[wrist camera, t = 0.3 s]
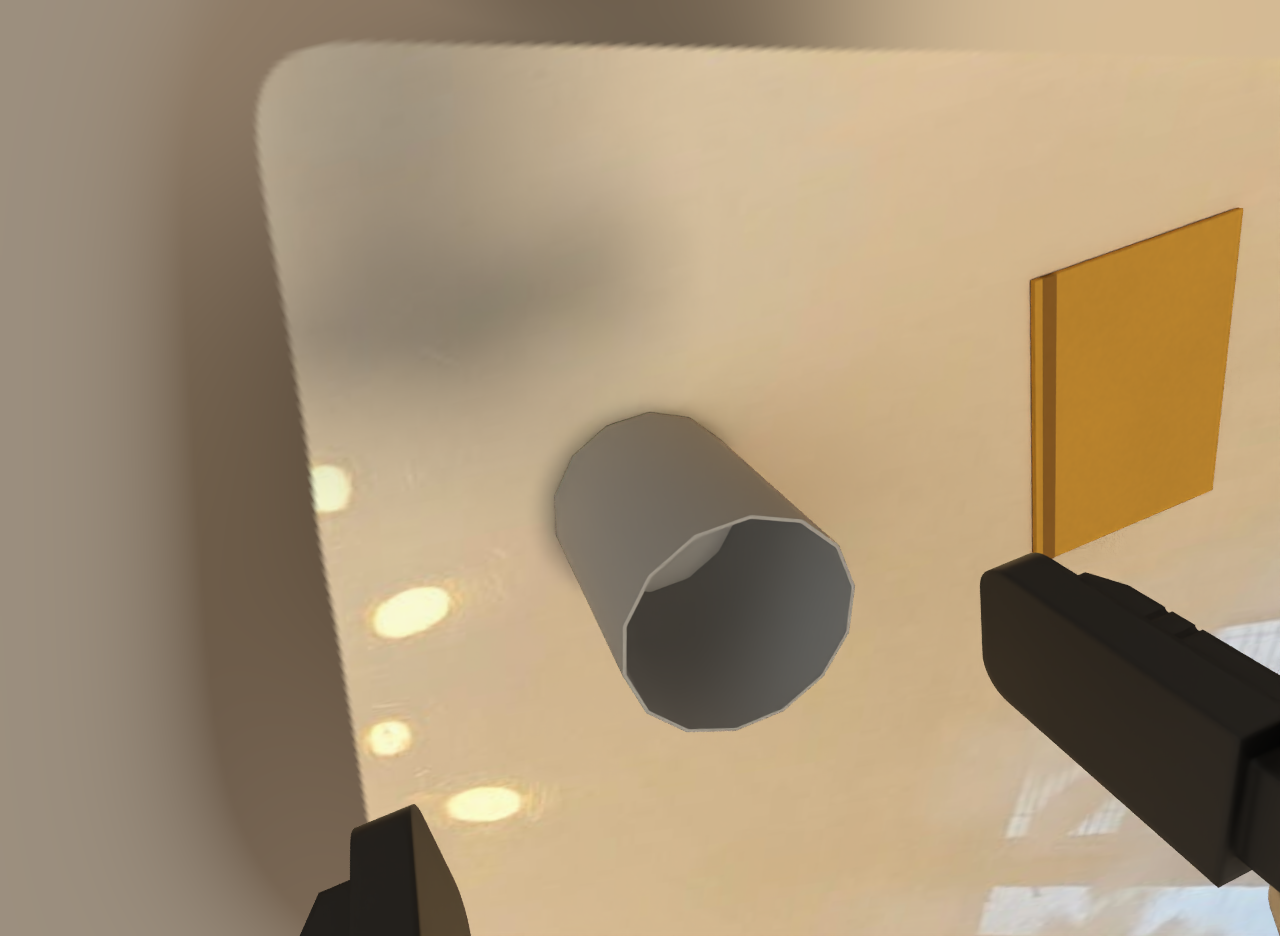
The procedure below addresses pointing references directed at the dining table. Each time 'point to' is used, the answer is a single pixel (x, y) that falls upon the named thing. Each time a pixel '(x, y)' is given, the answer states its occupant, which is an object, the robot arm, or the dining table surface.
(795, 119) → the dining table surface
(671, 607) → the cup
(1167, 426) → the orange rectangular slab
